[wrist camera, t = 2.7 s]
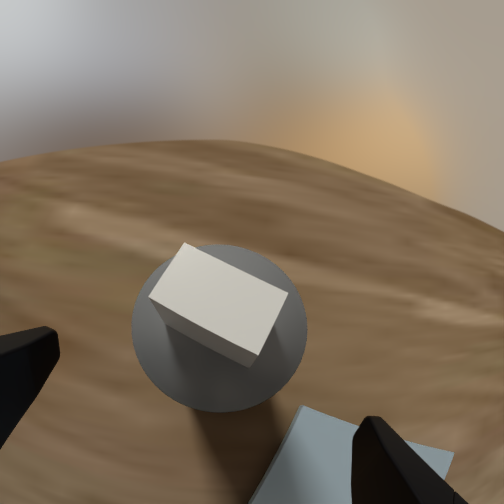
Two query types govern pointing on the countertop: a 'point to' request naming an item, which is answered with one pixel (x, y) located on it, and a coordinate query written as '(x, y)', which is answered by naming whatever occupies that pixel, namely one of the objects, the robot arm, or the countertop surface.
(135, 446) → the countertop surface
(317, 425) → the coaster
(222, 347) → the grey tall rounded piece
